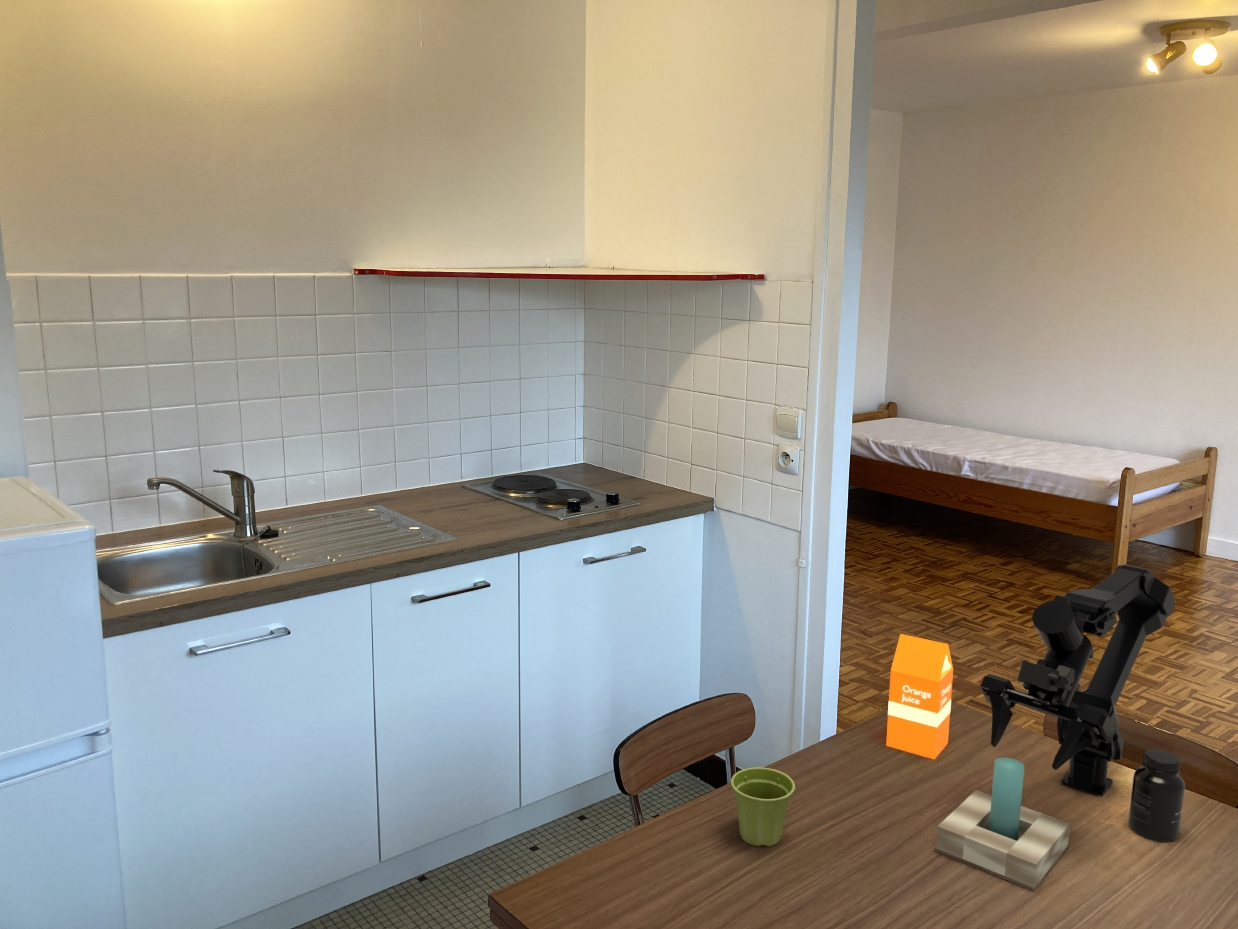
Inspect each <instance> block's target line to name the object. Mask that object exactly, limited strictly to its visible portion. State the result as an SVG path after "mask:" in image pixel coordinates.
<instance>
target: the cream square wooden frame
mask: <svg viewBox="0 0 1238 929" xmlns="http://www.w3.org/2000/svg"><path fill="white" fill-rule="evenodd" d="M991 798H992V794H988V793H985V792H982V791H980V790H977V789H976V790H975V791H973V792H972V793H971V794H970V795H969V796H968V797H967V798H966V799H965V800H964V801H963V802H961V804H960V805H958V806H957V807H956V808H955V809H954V810H953V811H952V812H951V813H950V814H949V815H948V816H947V817H946V818H945V819H944V820H942V821H941V822H940V823H939V824H938V825H937V828H936V841H935V852H936V853H940V854H942V855H944V856H945V857H946V856H947V857H948V858H951V859H954V860H957V861H958V862H961V863H964V864H966V865H968V866H971V867H973V868H975V867H976V869H977V870H980V869H982V870H981V871H983V872H986V873H988V872H989V873H988V874H990V875H993V876H995V877H998V878H1000V879H1003V880H1004V881H1005V880H1006V881H1007V880H1008V882H1010V883H1013V884H1015V885H1018V886H1020V887H1023V888H1026V889H1027V890H1030V891H1033V892H1034V891H1036V890H1037V888H1038V887H1039V885H1040V884H1041V883H1042V882H1043V880H1044V879H1045V878H1046V877H1047V876H1048V874H1049V873H1050V872H1051V870H1052V869H1053V868H1054V867H1055V865H1056V864H1057V863H1056V862H1059V860H1060V859H1061V857H1062V856H1064V854H1065V852H1067V850H1068V849H1069V838H1070V831H1071V823H1070V822H1067V821H1065V820H1062V819H1060V818H1057V817H1054V816H1050V815H1048V814H1045V813H1042V812H1040V811H1036V810H1034V809H1031V808H1028V807H1025V806H1022V805H1021V811H1020V822H1019V833H1018V841H1016V840H1013V839H1010V838H1008V837H1005V836H1002V835H1000V834H997V833H994V832H992V831H989V822H990V810H991Z"/></svg>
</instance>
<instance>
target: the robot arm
mask: <svg viewBox="0 0 1238 929" xmlns="http://www.w3.org/2000/svg"><path fill="white" fill-rule="evenodd" d="M1175 605H1176V598H1175V595H1174V593H1173V592H1172V589H1171V587H1170V586H1169V585H1168V584H1166V583H1164V582H1163V581H1161V580H1160V579H1158V578H1157V577H1156V576H1155V575H1154V572H1153V571H1151V570H1149V569H1148V568H1144V567H1139V566H1136V565H1129V564H1120V565H1118V566H1117V567H1116V569H1115V572H1113V573H1111V574H1110V575H1109V576H1107V577H1106V578H1104V579H1103V580H1102V581H1100V582H1099V583H1098V584H1096V585H1094V586H1093V587H1092V588H1080V589H1079V588H1078V589H1074V590H1071V591H1069V592H1066V594H1064V596H1063V595H1059V594H1056V595H1055V596H1054V598H1053V600H1050V601H1049V600H1048V601H1046V602H1042V603H1041V604H1040V605H1038V607H1036V608H1034V610H1033V612H1032V615H1031V616H1032V617H1031V620H1032V623H1033V625H1034V627H1035V629H1036V631H1037V633H1038V635H1039V637H1040V639H1041V642H1043V644H1044V646H1045V648H1047V649H1046V652H1045V654H1044V657H1043V659H1041V658H1039V659H1038V660H1037V661H1036V663H1034V662H1030V661H1026V660H1022V661H1021V664H1020V668H1019V670H1018V671H1019V672H1018V675H1017V678H1016V681H1017V682H1019V683H1020V682H1021V683H1023V684H1022V687H1023V689H1024V690H1027V692H1024V691H1020V690H1017V689H1016V687H1014V685H1013V683H1012V681H1011V680H1010V679H1008V678H1004V677H1001V676H997V675H994V674H991V673H987V674H986V675H984V676H982V678H981V679H980V682H979V684H978V685H977V687H978V689H979V691H980V692H981V693H982V696H983V697H984V699H985V700H986V701H987V703H989V705H990V706H991V715H992V719H991V720H992V721H991V733H990V734H991V736H990V745H991V746H992V748H996V747H997V746H998V744H999V743H1000V741H1001V740H1002V737H1003V735H1004V733H1005V731H1006V729H1007V727H1008V725H1009V723H1010V721H1011V719H1012V717H1013V716H1014V713H1013V711H1012V710H1011V709H1012V708H1015V706H1016V705H1021V706H1023V707H1026V708H1029V709H1032V710H1035V711H1037V712H1041V713H1044V714H1047V715H1050V716H1054V717H1056V718H1057V723H1056V727H1057V728H1056V729H1057V739H1058V744H1059V745H1060V746H1059V749H1058V750H1057V752H1056V754H1055V755H1054V758H1053V761H1052V764H1051V768H1052V769H1053V770H1054V771H1057V770H1058V769H1060V768H1061V767H1062V766H1063V765H1064V764H1066V763H1067V762H1068V761H1069V763H1068V771H1067V772H1066V773H1065V775H1063V777H1062V778H1061V779H1060V784H1062V785H1064V786H1067V787H1070V788H1071V787H1072V788H1074V789H1076V790H1080V791H1083V792H1087V793H1088V794H1089V793H1090V794H1092V795H1096V796H1099V797H1103V795H1104V794H1105V793H1106V792H1107V791H1108V790H1109V788H1110V787H1111V786H1112V784H1113V782H1114V780H1113V779H1112V778H1109V777H1108V769H1109V762H1110V763H1111V762H1113V761H1114V760H1115V761H1117V760H1118V761H1120V760H1122V757H1123V756H1122V754H1123V751H1124V748H1125V746H1124V745H1125V739H1124V737H1123V735H1122V733H1121V731H1120V729H1119V727H1120V721H1119V717H1118V715H1117V714H1118V713H1117V710H1116V705H1117V703H1118V701H1119V698H1120V696H1121V694H1122V691H1123V689H1124V687H1125V686H1126V683H1127V680H1128V678H1129V676H1130V673H1131V671H1132V669H1133V667H1134V664H1135V662H1136V660H1137V657H1138V656H1139V653H1140V651H1141V649H1142V646H1143V645H1144V642H1145V640H1146V638H1147V637H1148V636H1149V635H1151V634H1153V633H1155V632H1156V631H1159V630H1160V629H1161V628H1163V626H1164V624H1165V623H1166V620H1167V619H1168V617H1171V615H1172V614H1173V612H1174V611H1175V610H1174V609H1175ZM1117 616H1118V621H1117ZM1114 626H1115V628H1114ZM1113 628H1114V630H1113ZM1112 630H1113V632H1112V635H1111V636H1110V639H1109V640H1108V643H1107V645H1106V647H1105V649H1104V652H1103V654H1102V655H1101V659H1100V660H1099V662H1098V665H1097V667H1096V669H1095V671H1094V673H1093V676H1092V677H1091V680H1090V682H1089V684H1088V686H1087V688H1086V689H1084V690H1080V688H1081V684H1080V683H1079V682H1080V681H1081V678H1082V675H1083V673H1084V671H1085V669H1086V666H1087V664H1088V662H1089V660H1090V659H1092V658H1093V657H1094V646H1093V644H1092V642H1091V640H1090V638H1089V637H1088V636H1087V635H1088V634H1089V635H1092V636H1096V637H1100V638H1102V637H1104V636H1105V635H1107V634H1108V632H1110V631H1112ZM1084 633H1085V634H1084ZM1086 634H1087V635H1086Z"/></svg>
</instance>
